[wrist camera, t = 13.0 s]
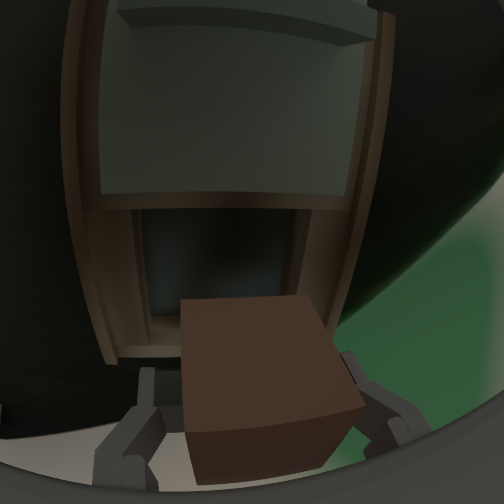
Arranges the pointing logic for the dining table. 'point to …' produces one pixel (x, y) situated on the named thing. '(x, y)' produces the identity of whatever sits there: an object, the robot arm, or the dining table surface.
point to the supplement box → (0, 412)
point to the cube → (261, 388)
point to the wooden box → (205, 217)
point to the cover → (230, 94)
